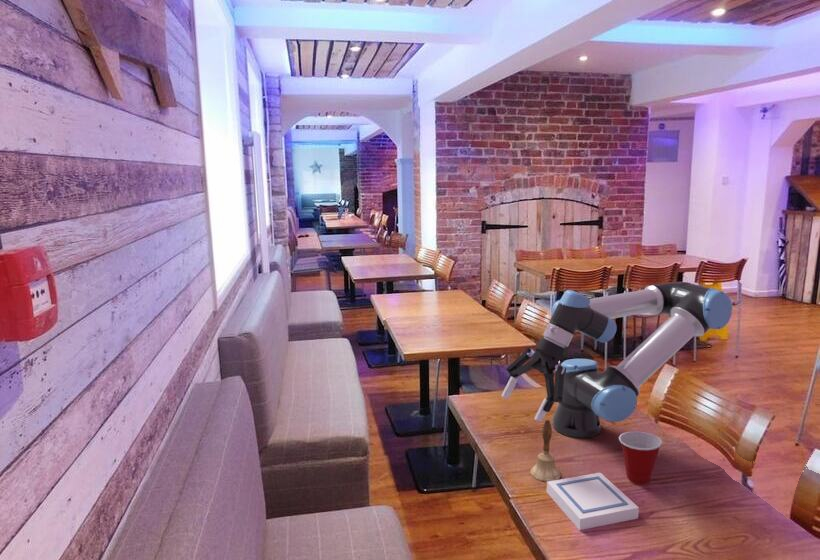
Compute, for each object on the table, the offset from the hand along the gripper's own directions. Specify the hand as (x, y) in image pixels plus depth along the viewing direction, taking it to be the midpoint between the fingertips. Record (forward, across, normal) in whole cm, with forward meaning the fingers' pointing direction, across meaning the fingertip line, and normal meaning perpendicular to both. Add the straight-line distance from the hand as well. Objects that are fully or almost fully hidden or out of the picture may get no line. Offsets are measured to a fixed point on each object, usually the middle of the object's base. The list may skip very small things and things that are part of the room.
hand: (520, 408), depth 153 cm
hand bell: (+13, +10, +10) cm, 19 cm away
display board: (+11, +27, +8) cm, 30 cm away
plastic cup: (+2, +26, +26) cm, 36 cm away
